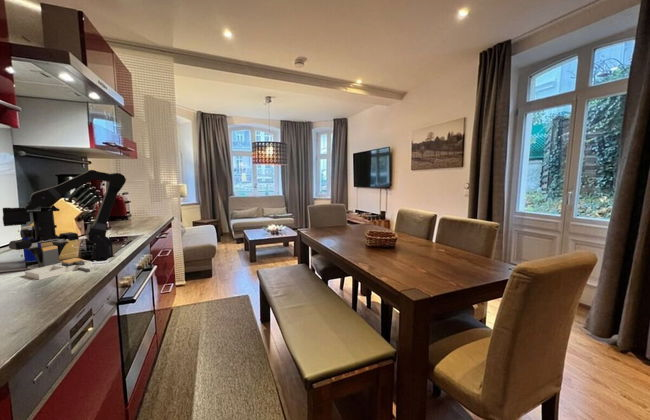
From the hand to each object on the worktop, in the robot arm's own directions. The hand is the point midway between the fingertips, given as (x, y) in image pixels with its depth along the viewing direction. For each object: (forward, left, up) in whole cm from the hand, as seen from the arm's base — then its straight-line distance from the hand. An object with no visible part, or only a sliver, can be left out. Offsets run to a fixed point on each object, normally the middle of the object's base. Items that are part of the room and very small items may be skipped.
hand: (48, 261), depth 107 cm
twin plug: (-3, +14, -2) cm, 14 cm away
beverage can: (-2, -16, -3) cm, 16 cm away
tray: (0, 0, -2) cm, 2 cm away
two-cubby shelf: (+1, +10, -2) cm, 10 cm away
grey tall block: (0, 0, -2) cm, 2 cm away
